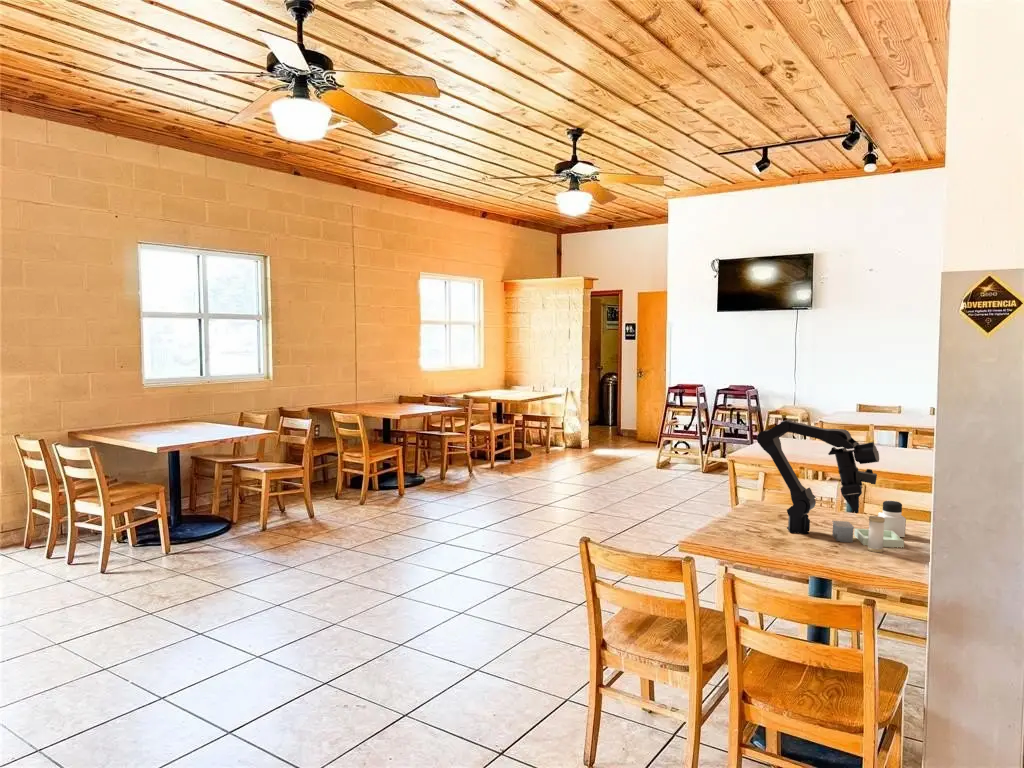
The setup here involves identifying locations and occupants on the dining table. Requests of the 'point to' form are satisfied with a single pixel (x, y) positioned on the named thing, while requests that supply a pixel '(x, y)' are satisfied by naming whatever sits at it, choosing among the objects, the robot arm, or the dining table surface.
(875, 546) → the fuse
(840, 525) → the box
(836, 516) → the dining table surface
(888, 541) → the tray
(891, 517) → the medicine bottle
